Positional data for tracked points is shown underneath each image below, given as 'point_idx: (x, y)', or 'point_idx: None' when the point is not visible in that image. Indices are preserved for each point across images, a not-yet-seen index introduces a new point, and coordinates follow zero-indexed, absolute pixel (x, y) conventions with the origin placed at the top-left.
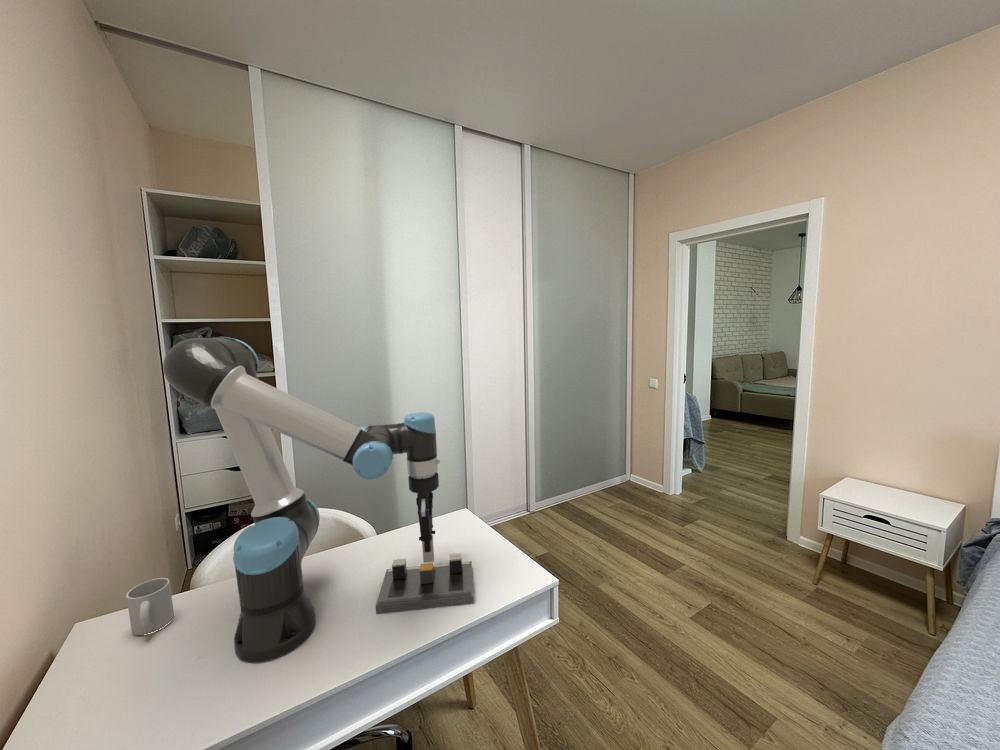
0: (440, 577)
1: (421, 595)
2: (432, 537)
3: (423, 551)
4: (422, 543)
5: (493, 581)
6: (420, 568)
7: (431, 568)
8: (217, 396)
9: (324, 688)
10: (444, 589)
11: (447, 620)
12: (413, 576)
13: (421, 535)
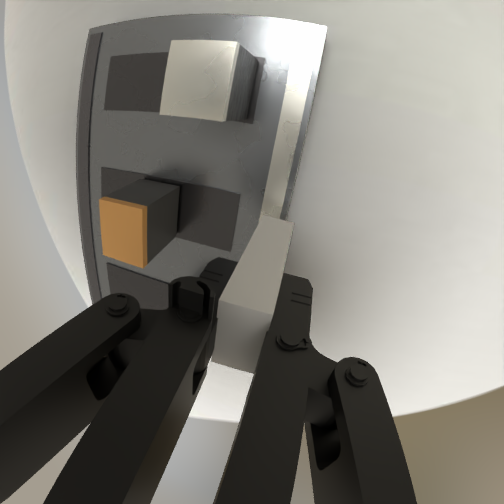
0: (176, 257)
1: (95, 177)
2: (222, 363)
3: (248, 249)
4: (230, 278)
5: None
6: (108, 204)
7: (104, 252)
8: None
9: (4, 25)
10: None
11: (63, 228)
12: (210, 150)
13: (61, 332)
